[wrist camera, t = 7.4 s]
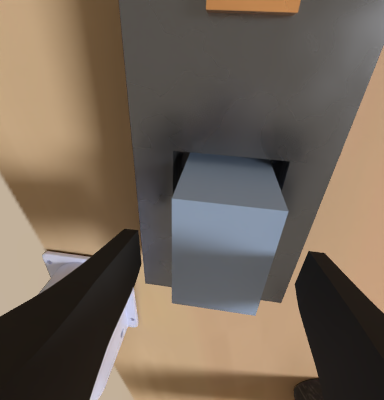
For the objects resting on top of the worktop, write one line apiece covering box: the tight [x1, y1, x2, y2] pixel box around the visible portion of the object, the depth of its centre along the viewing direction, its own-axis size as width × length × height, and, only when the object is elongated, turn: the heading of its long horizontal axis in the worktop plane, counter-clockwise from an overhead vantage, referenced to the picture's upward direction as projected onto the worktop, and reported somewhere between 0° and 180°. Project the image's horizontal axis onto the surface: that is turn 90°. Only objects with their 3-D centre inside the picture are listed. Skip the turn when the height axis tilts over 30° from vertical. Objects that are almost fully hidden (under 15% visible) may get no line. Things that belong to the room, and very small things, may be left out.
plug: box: [172, 152, 289, 316], centre depth 12 cm, size 6×4×6 cm, turn 178°
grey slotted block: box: [119, 0, 384, 303], centre depth 12 cm, size 18×9×4 cm, turn 178°
